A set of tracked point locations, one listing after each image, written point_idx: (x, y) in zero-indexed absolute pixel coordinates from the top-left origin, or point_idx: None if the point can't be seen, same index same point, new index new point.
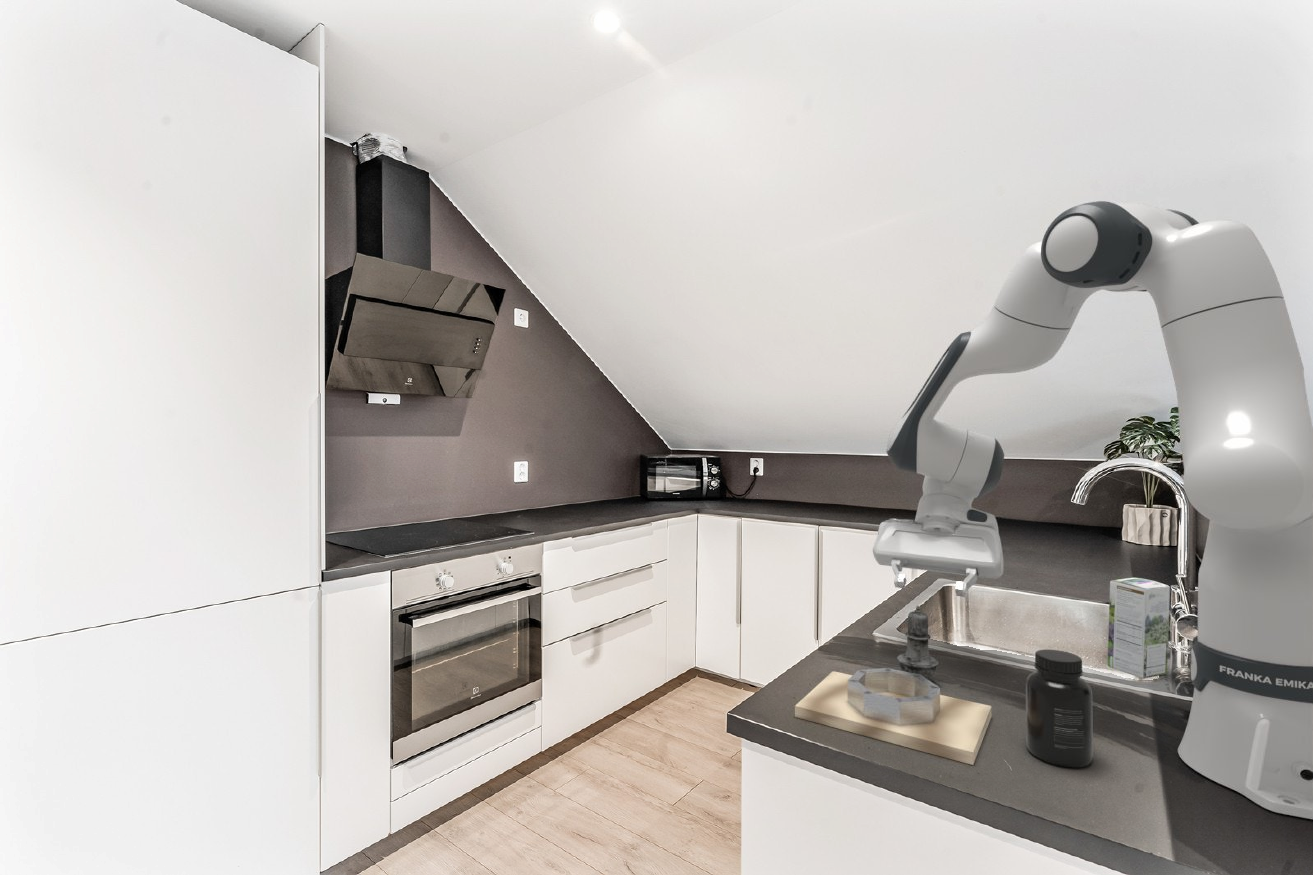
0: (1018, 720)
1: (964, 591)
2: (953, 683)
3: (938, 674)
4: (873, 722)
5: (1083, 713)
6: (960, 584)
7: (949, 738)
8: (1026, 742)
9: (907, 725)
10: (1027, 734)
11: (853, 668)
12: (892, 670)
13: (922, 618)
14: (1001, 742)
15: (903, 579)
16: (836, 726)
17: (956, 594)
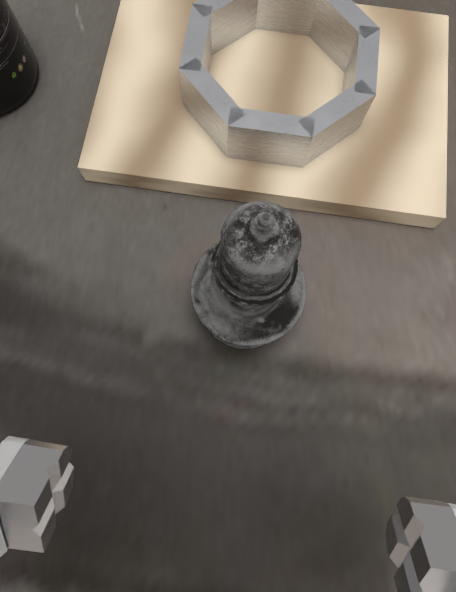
0: (33, 189)
1: (12, 436)
2: (158, 343)
3: (197, 395)
4: None
5: None
6: (16, 481)
7: (164, 2)
8: (35, 66)
9: None
10: (26, 43)
11: (413, 335)
12: (297, 124)
13: (240, 206)
14: (79, 84)
15: (419, 533)
16: None
17: (71, 464)
